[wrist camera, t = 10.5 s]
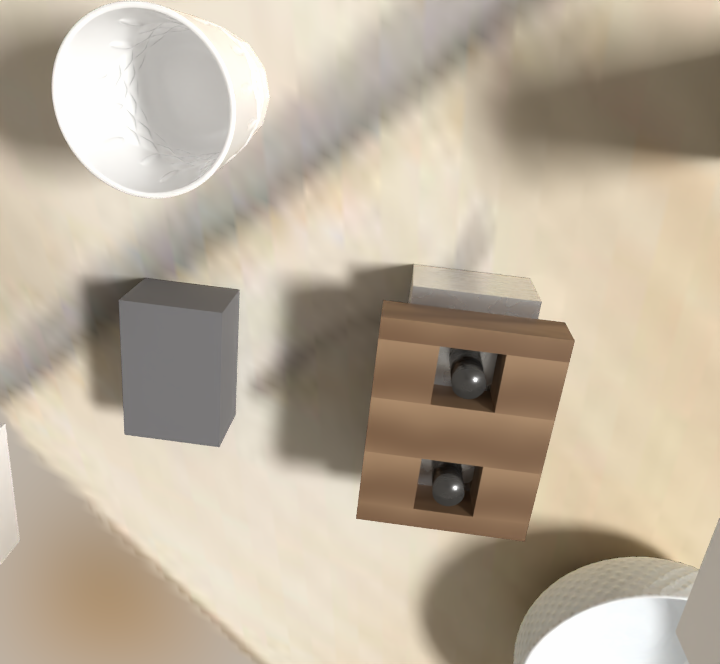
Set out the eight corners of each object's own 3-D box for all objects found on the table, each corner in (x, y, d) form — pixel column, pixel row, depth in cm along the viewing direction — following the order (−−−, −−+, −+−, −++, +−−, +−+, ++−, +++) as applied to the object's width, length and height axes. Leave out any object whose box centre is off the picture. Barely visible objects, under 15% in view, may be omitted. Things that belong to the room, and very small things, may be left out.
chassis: (413, 264, 40) (412, 305, 34) (530, 278, 40) (551, 322, 34) (384, 472, 46) (379, 540, 40) (486, 485, 46) (497, 556, 40)
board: (383, 300, 37) (380, 316, 35) (564, 322, 37) (574, 340, 34) (359, 492, 42) (356, 518, 40) (518, 514, 42) (524, 541, 40)
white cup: (305, 64, 36) (267, 69, 27) (241, 189, 39) (188, 231, 30) (175, -18, 35) (90, -42, 26) (119, 116, 38) (25, 138, 29)
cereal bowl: (456, 601, 50) (462, 683, 44) (644, 476, 45) (682, 549, 38) (599, 724, 54) (623, 816, 47) (787, 623, 49) (844, 711, 42)
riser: (144, 277, 42) (118, 299, 38) (239, 289, 42) (222, 312, 38) (148, 403, 46) (124, 434, 42) (235, 414, 45) (219, 447, 42)
